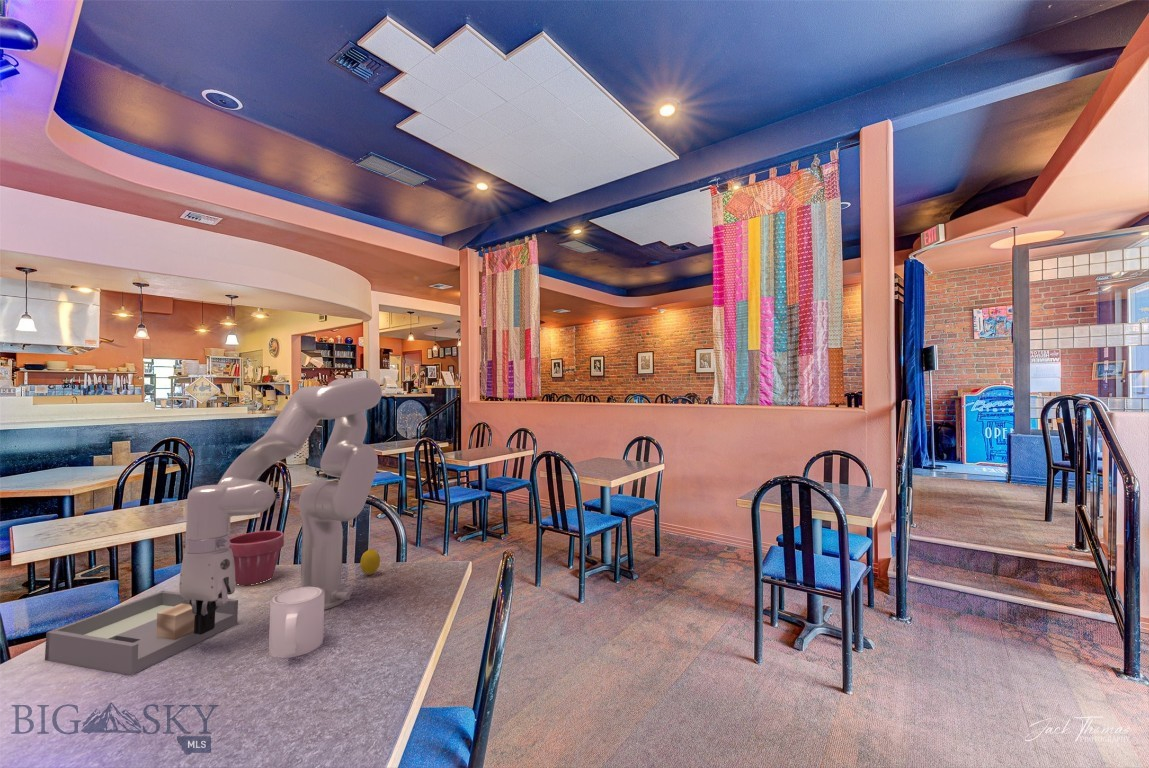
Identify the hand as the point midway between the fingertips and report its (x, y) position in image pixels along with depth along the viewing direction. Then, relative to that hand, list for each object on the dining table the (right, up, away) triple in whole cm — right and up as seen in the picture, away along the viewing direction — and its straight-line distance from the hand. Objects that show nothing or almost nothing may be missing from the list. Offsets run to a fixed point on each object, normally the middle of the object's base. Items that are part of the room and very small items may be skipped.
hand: (204, 631), depth 100 cm
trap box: (-14, -4, +3) cm, 15 cm away
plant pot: (-15, -6, +38) cm, 42 cm away
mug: (+19, -4, +1) cm, 19 cm away
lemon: (+16, -6, +43) cm, 47 cm away
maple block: (-7, -1, +2) cm, 7 cm away
